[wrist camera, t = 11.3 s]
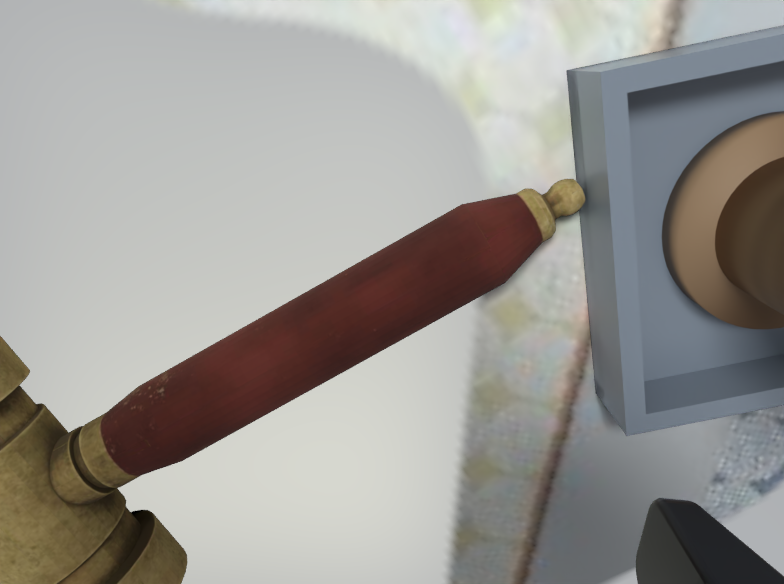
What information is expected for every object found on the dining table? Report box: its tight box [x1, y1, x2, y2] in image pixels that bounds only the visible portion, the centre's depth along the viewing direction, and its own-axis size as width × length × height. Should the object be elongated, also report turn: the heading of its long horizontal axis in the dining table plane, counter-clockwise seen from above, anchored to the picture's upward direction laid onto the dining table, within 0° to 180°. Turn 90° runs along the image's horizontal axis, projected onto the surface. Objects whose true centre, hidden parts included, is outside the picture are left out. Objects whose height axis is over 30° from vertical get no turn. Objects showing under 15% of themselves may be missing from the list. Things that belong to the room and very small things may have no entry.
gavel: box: [0, 179, 585, 584], centre depth 18 cm, size 21×5×10 cm
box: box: [567, 25, 784, 436], centre depth 17 cm, size 10×10×2 cm
